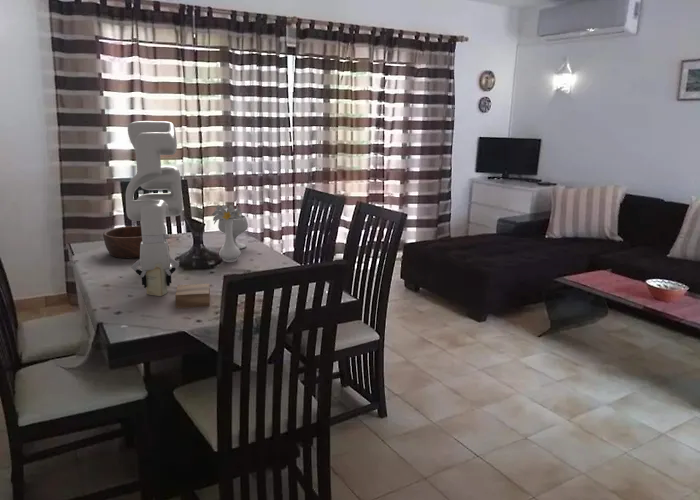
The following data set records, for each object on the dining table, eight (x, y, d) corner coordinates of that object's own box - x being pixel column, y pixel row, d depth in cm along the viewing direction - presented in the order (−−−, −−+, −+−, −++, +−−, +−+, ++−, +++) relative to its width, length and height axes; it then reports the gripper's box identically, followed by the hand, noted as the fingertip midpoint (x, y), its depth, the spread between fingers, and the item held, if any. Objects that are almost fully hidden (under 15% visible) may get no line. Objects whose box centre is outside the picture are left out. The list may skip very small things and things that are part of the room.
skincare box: (146, 294, 200) (144, 262, 197) (153, 290, 204) (151, 259, 201) (162, 296, 198) (159, 263, 195) (168, 292, 203) (166, 260, 200)
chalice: (212, 247, 267) (211, 216, 263) (235, 242, 278) (234, 212, 274) (232, 252, 259) (231, 220, 255) (254, 246, 270) (253, 216, 266)
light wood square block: (178, 298, 198) (177, 285, 197) (210, 296, 200) (209, 283, 199) (176, 309, 188) (175, 295, 186) (209, 307, 190) (209, 293, 189)
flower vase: (235, 253, 257) (234, 200, 251) (250, 263, 242) (248, 207, 235) (208, 256, 250) (205, 202, 244) (220, 267, 235) (218, 209, 229)
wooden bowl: (104, 248, 261) (102, 227, 258) (160, 244, 270) (159, 224, 268) (104, 262, 239) (102, 239, 236) (165, 257, 248) (164, 235, 246)
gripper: (179, 235, 202) (182, 281, 206) (128, 237, 197) (132, 284, 202) (179, 239, 195) (182, 287, 199) (126, 242, 190) (130, 290, 195)
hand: (157, 285), depth 200 cm, fingers closed on skincare box, 7 cm apart
